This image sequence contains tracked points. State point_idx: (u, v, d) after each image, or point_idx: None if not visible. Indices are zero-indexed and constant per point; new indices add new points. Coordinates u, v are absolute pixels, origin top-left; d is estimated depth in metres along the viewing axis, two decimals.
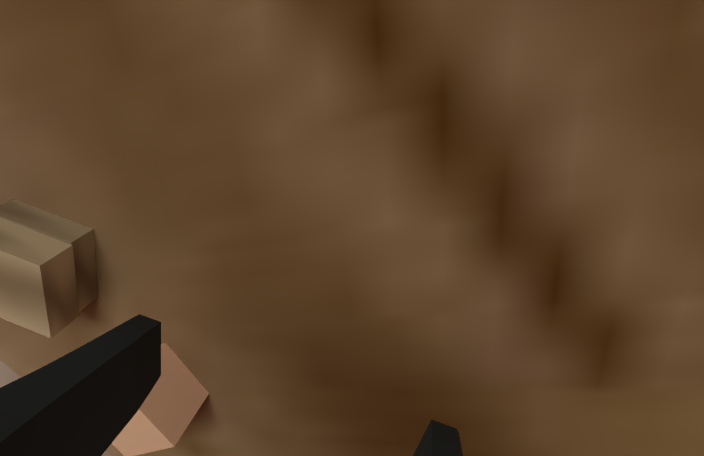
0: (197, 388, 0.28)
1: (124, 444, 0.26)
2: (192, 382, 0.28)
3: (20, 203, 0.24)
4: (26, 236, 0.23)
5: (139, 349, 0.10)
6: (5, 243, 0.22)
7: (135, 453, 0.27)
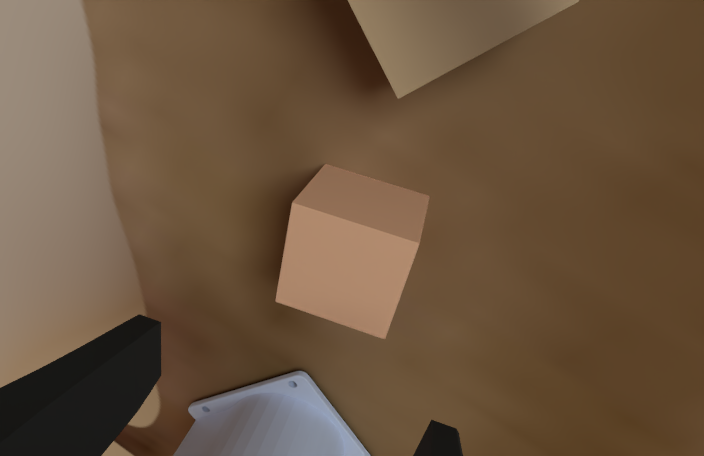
0: None
1: (301, 290, 0.17)
2: None
3: None
4: None
5: (139, 349, 0.10)
6: None
7: (301, 307, 0.17)
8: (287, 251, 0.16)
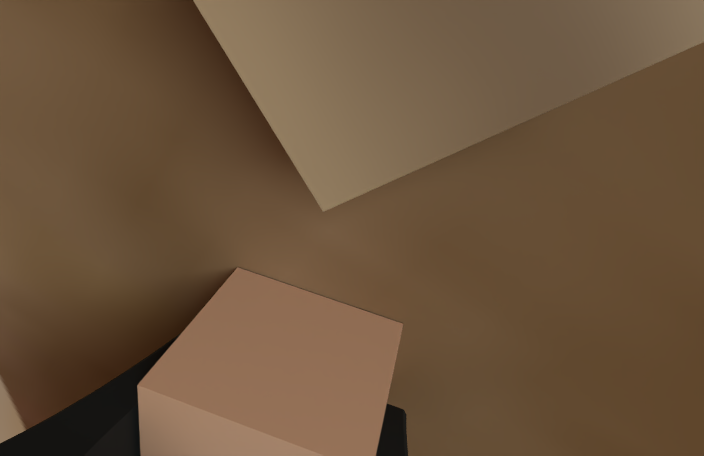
0: None
1: None
2: None
3: None
4: None
5: None
6: None
7: None
8: (146, 451, 0.09)
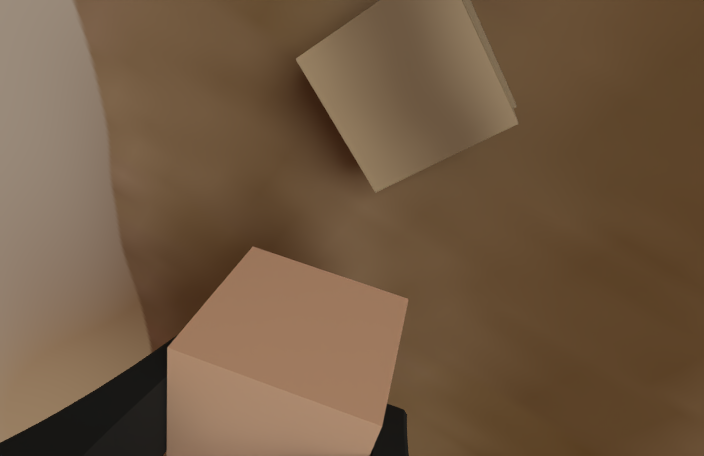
0: None
1: None
2: None
3: None
4: (486, 51, 0.14)
5: None
6: (483, 46, 0.13)
7: None
8: (172, 412, 0.10)
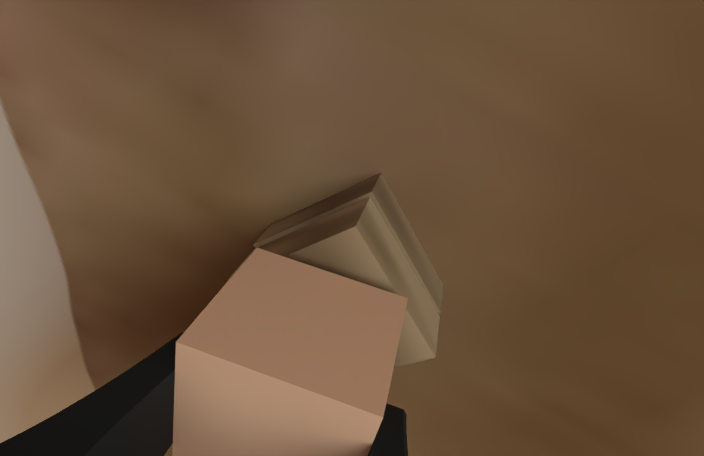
0: None
1: None
2: None
3: (387, 188, 0.15)
4: (409, 277, 0.14)
5: None
6: (401, 288, 0.13)
7: None
8: (178, 406, 0.10)
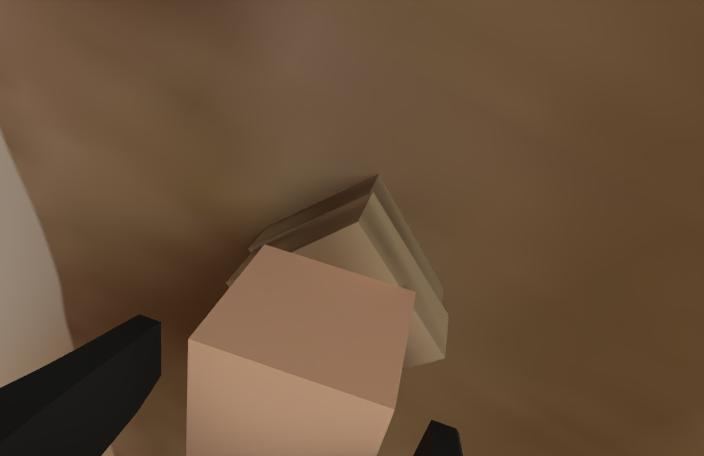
0: None
1: (221, 451, 0.11)
2: None
3: (386, 190, 0.15)
4: (415, 274, 0.14)
5: (139, 349, 0.10)
6: (407, 286, 0.13)
7: None
8: (192, 402, 0.10)
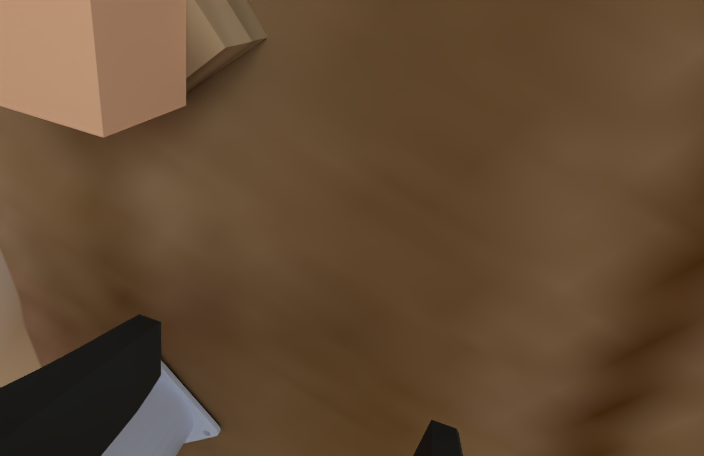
0: (177, 82, 0.15)
1: None
2: (177, 65, 0.14)
3: None
4: None
5: (139, 349, 0.10)
6: None
7: None
8: None
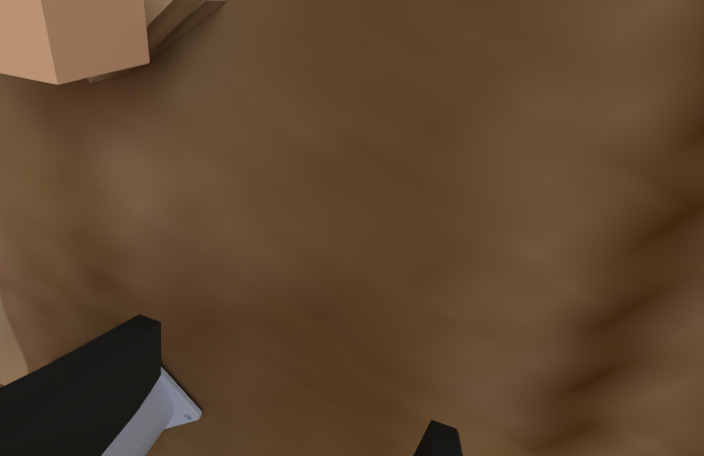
0: (137, 36, 0.14)
1: None
2: (135, 17, 0.14)
3: None
4: None
5: (139, 349, 0.10)
6: None
7: None
8: None
